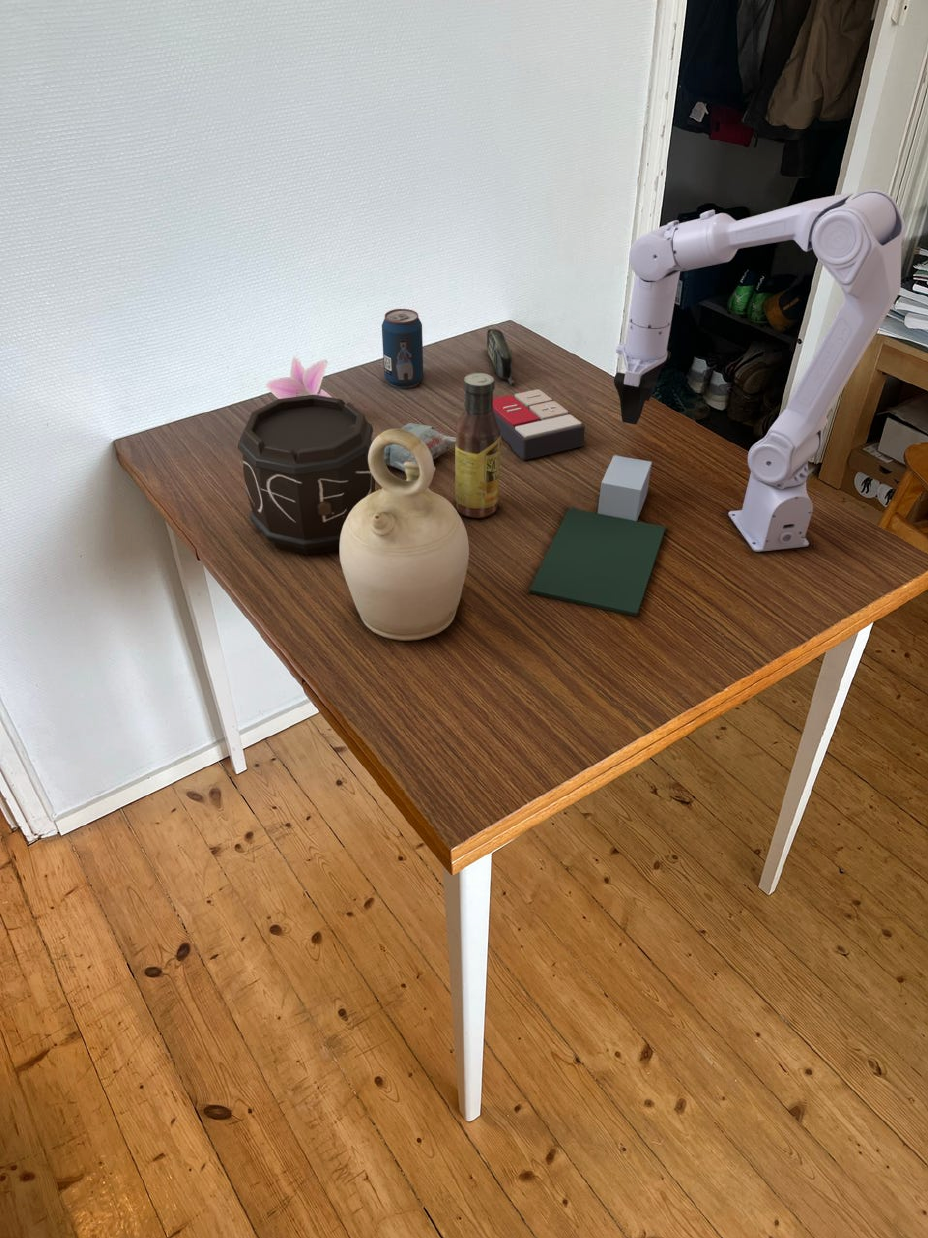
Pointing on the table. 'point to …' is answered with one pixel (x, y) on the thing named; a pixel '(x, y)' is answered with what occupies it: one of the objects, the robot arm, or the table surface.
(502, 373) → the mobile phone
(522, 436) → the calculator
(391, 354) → the soda can
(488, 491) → the sauce bottle
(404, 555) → the jug
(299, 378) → the lily
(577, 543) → the rubber mat
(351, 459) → the octagonal coffee canister
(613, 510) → the grey block
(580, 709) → the table surface
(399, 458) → the packaged food
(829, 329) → the robot arm
